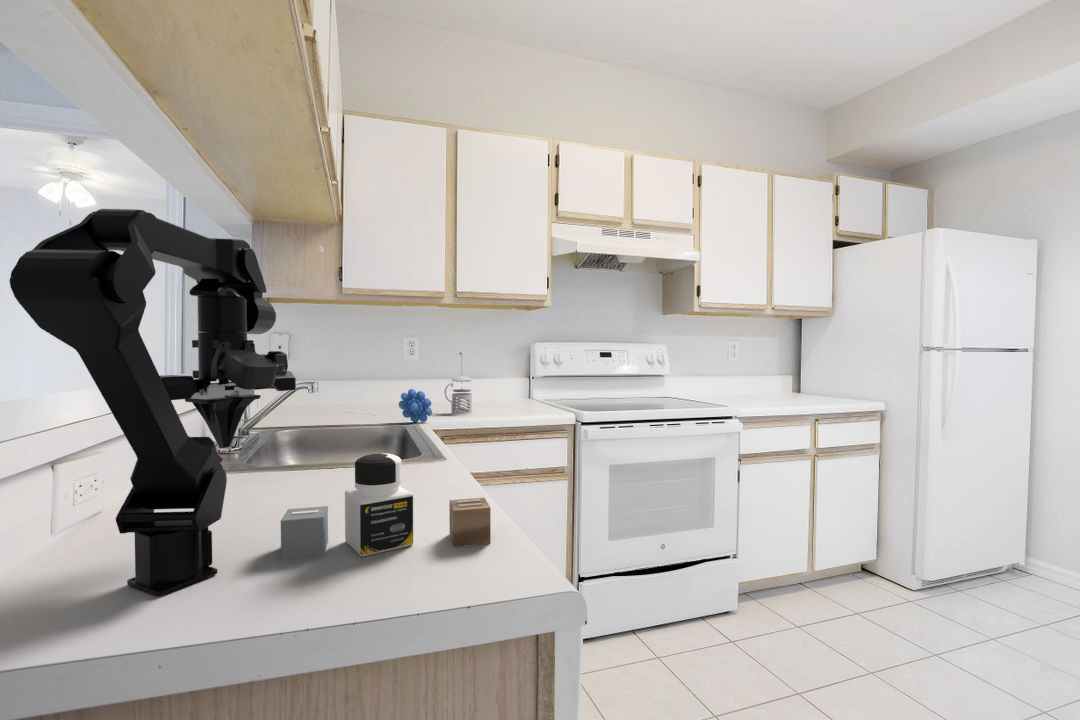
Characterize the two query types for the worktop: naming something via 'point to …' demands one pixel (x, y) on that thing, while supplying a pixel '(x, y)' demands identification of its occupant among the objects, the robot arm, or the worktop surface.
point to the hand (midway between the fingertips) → (224, 447)
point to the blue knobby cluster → (415, 406)
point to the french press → (461, 397)
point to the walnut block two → (469, 522)
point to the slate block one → (304, 532)
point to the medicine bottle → (378, 507)
